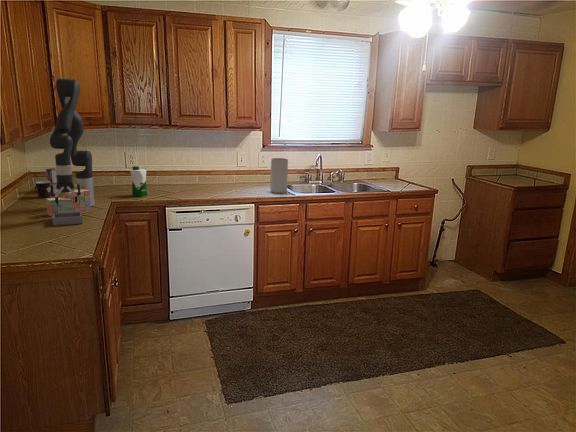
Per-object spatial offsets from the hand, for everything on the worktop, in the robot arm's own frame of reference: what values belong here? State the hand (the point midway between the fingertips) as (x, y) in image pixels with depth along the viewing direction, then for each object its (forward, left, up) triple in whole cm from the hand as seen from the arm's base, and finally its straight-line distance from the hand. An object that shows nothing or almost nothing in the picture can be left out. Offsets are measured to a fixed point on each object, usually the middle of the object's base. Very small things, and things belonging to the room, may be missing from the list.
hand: (66, 203), depth 229 cm
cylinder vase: (-35, +143, -8) cm, 148 cm away
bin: (+10, 0, -8) cm, 13 cm away
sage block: (0, 0, -8) cm, 8 cm away
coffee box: (-78, -8, -8) cm, 79 cm away
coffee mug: (-60, -15, -8) cm, 63 cm away
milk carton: (-49, +44, -8) cm, 67 cm away
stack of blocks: (-12, +1, -8) cm, 15 cm away
